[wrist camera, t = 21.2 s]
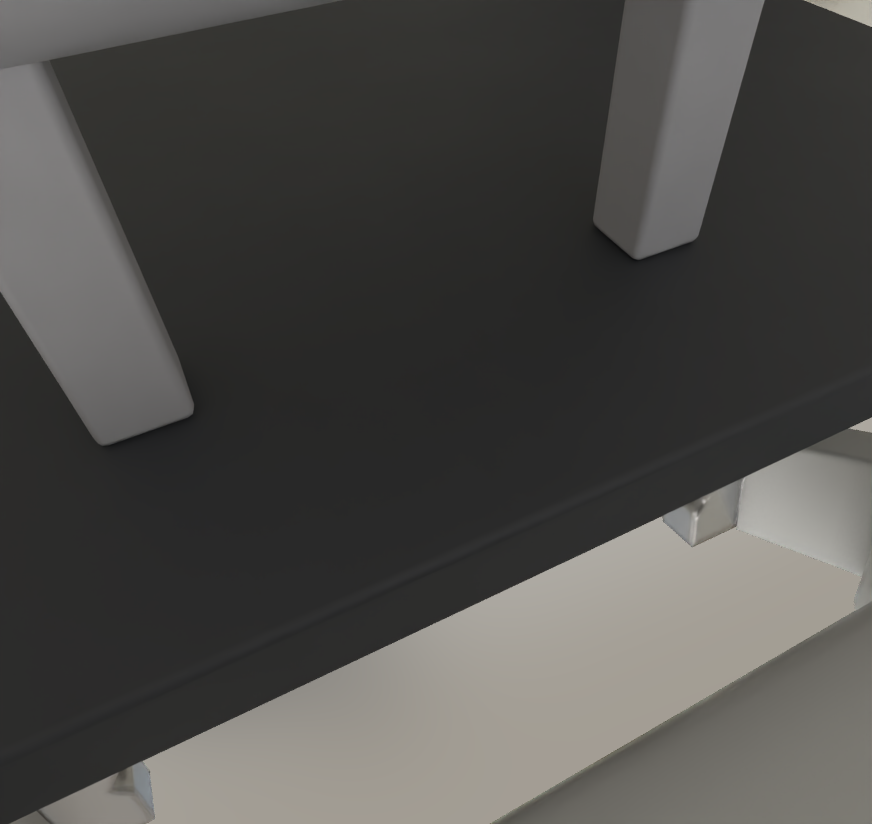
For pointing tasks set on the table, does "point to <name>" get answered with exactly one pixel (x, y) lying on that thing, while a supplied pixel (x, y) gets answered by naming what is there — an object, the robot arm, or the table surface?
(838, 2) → the table surface
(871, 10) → the table surface
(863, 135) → the lid
